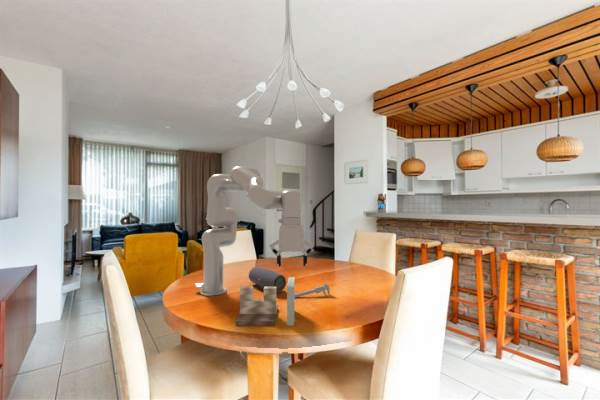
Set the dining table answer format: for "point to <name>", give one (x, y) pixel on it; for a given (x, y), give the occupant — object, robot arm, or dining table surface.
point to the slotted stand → (257, 307)
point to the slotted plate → (290, 301)
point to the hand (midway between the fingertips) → (292, 265)
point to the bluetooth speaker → (267, 278)
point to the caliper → (317, 290)
